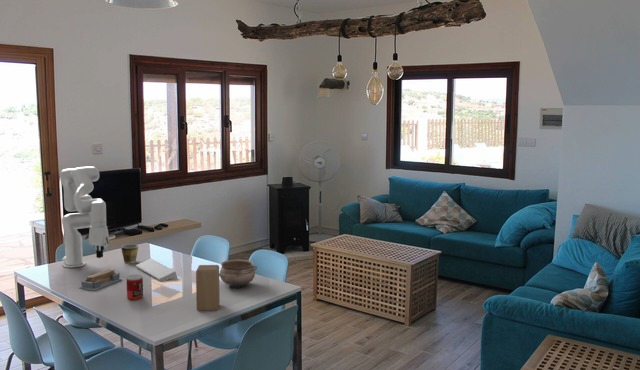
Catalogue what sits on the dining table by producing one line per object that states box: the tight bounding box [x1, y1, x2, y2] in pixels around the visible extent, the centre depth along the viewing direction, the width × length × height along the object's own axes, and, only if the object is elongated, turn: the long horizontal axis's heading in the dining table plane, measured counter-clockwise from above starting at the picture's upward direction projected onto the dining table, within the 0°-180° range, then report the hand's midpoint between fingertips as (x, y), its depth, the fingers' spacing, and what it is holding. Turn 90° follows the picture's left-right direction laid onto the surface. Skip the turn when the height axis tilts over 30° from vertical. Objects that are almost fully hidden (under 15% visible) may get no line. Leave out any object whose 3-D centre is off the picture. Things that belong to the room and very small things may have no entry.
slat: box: [86, 268, 115, 284], centre depth 303 cm, size 4×16×5 cm, turn 158°
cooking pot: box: [219, 258, 258, 288], centre depth 303 cm, size 25×19×12 cm
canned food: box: [126, 274, 144, 301], centre depth 281 cm, size 8×8×11 cm
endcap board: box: [78, 271, 123, 291], centre depth 303 cm, size 10×21×4 cm, turn 158°
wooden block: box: [195, 264, 220, 312], centre depth 268 cm, size 10×10×20 cm
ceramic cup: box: [120, 244, 139, 264], centre depth 347 cm, size 13×10×10 cm
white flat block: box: [135, 258, 178, 282], centre depth 325 cm, size 34×5×10 cm
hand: (99, 257), depth 302 cm, fingers closed
